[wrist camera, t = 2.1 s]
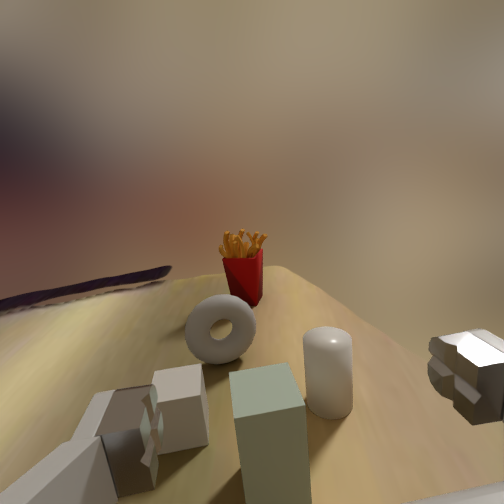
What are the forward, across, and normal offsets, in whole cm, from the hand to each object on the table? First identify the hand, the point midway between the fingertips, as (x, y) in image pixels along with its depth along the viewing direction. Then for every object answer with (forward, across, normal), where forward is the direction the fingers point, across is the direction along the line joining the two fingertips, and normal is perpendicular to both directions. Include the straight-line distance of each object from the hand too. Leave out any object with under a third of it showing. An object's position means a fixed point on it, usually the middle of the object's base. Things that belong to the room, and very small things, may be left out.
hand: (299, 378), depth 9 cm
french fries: (+50, +3, -20) cm, 54 cm away
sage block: (+13, 0, -20) cm, 24 cm away
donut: (+32, -3, -20) cm, 38 cm away
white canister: (+21, +8, -20) cm, 30 cm away
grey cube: (+20, -8, -20) cm, 30 cm away
